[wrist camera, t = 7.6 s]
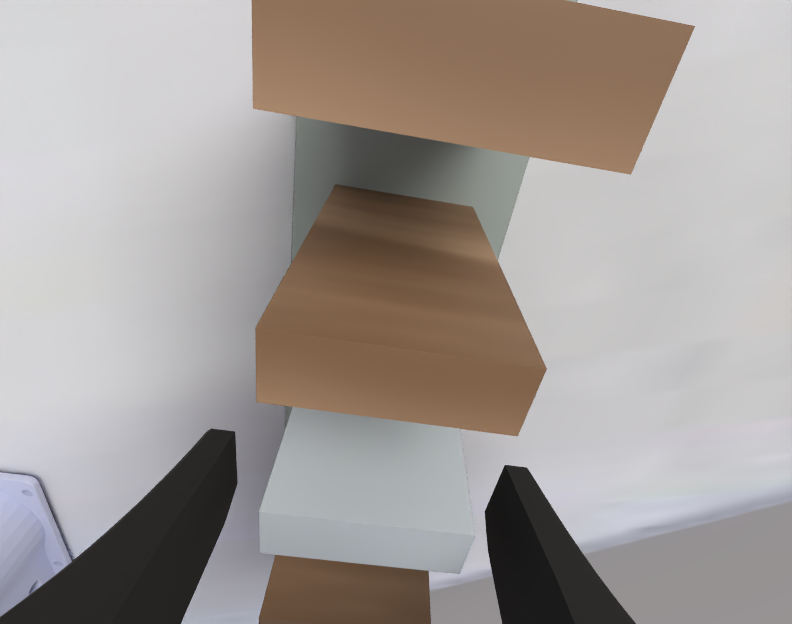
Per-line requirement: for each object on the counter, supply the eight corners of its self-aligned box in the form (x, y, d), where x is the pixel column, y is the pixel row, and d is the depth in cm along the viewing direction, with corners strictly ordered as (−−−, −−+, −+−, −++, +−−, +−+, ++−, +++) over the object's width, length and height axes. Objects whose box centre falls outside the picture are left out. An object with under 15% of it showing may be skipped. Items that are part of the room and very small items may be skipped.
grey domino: (325, 304, 17) (259, 511, 9) (444, 321, 17) (475, 535, 10) (323, 337, 18) (259, 553, 10) (436, 353, 18) (459, 574, 10)
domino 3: (414, 433, 21) (420, 660, 13) (315, 420, 20) (259, 645, 12) (421, 408, 20) (431, 635, 12) (317, 395, 19) (258, 618, 12)
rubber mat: (413, 526, 25) (413, 533, 25) (283, 512, 25) (281, 518, 24) (611, -128, 11) (618, -134, 10) (311, -194, 10) (307, -203, 10)
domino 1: (498, 106, 13) (630, 174, 5) (344, 78, 13) (252, 108, 5) (514, 46, 12) (694, 26, 5) (350, 14, 12) (250, -64, 4)
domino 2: (462, 249, 16) (517, 436, 8) (331, 228, 15) (256, 402, 8) (473, 206, 15) (546, 369, 7) (335, 184, 15) (255, 327, 7)
